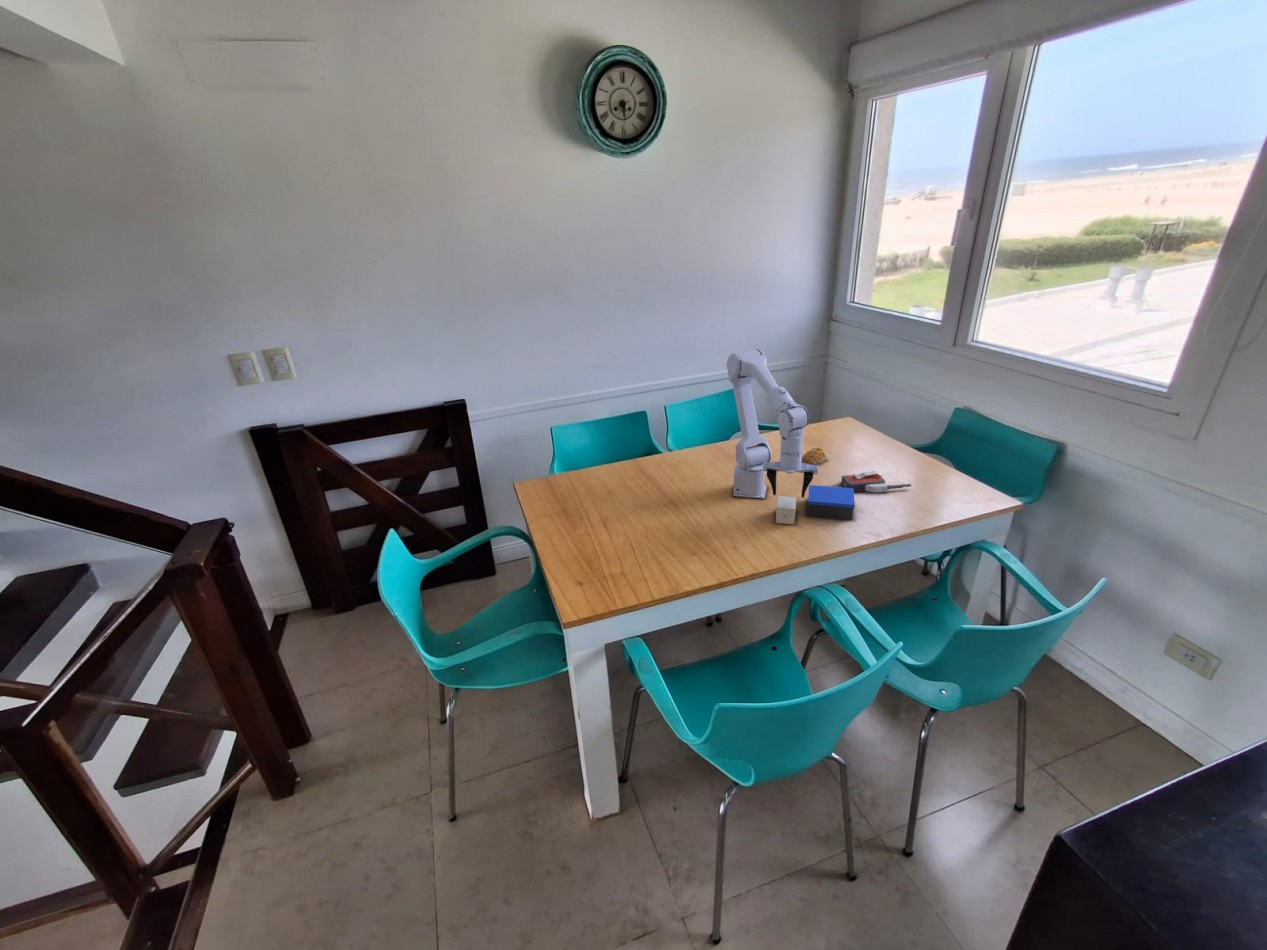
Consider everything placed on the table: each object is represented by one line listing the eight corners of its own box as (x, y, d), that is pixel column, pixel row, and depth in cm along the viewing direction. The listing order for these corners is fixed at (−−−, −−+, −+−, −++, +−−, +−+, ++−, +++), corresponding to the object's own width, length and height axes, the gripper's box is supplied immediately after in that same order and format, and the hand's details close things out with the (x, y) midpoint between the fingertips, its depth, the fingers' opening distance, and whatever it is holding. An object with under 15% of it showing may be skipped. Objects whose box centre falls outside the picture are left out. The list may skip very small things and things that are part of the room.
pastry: (816, 468, 187) (817, 458, 186) (797, 464, 191) (798, 454, 190) (827, 459, 194) (828, 449, 192) (809, 455, 198) (809, 445, 196)
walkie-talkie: (847, 496, 169) (912, 490, 169) (848, 483, 167) (914, 477, 167) (836, 483, 177) (898, 478, 177) (837, 470, 175) (900, 465, 175)
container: (806, 516, 160) (808, 501, 158) (807, 499, 169) (809, 484, 167) (852, 520, 156) (854, 505, 154) (851, 503, 165) (853, 488, 163)
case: (793, 524, 156) (795, 509, 154) (775, 522, 158) (776, 507, 156) (795, 512, 162) (796, 497, 160) (777, 510, 164) (778, 495, 162)
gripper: (762, 454, 150) (761, 499, 156) (819, 458, 146) (815, 503, 151) (765, 444, 156) (763, 487, 162) (819, 447, 152) (815, 491, 157)
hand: (788, 494), depth 157 cm, fingers open, 7 cm apart
